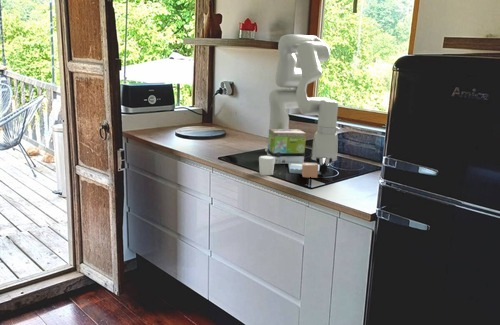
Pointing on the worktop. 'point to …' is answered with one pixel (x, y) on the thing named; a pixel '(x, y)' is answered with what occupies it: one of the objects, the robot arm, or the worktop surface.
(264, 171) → the shot glass
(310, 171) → the cardboard box
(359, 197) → the worktop surface
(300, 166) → the blue microchip card
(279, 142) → the tea box
